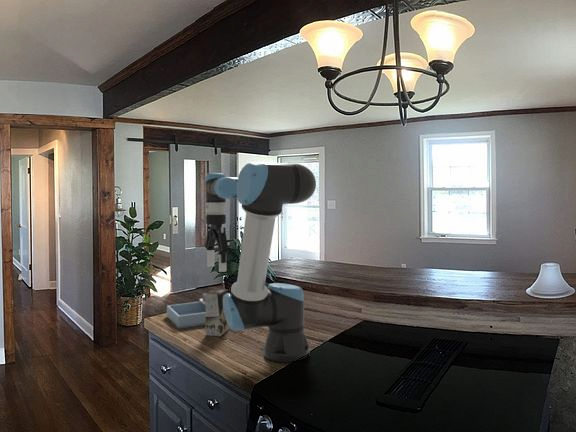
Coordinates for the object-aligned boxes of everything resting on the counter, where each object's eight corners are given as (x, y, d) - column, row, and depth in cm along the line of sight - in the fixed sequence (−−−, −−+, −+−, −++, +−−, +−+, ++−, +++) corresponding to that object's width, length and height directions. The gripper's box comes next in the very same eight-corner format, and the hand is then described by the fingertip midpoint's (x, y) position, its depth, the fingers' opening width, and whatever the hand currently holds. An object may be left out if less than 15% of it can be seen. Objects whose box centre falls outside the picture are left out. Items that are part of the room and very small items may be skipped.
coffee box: (221, 336, 163) (220, 294, 163) (205, 335, 165) (204, 293, 164) (229, 329, 172) (228, 288, 172) (214, 328, 174) (213, 288, 173)
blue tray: (226, 321, 183) (226, 309, 183) (178, 328, 173) (178, 316, 173) (210, 311, 200) (210, 300, 200) (166, 316, 191) (166, 305, 191)
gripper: (196, 213, 176) (197, 265, 177) (217, 215, 154) (218, 274, 155) (214, 212, 179) (215, 263, 180) (237, 214, 157) (237, 272, 158)
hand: (216, 269), depth 167 cm, fingers open, 13 cm apart
